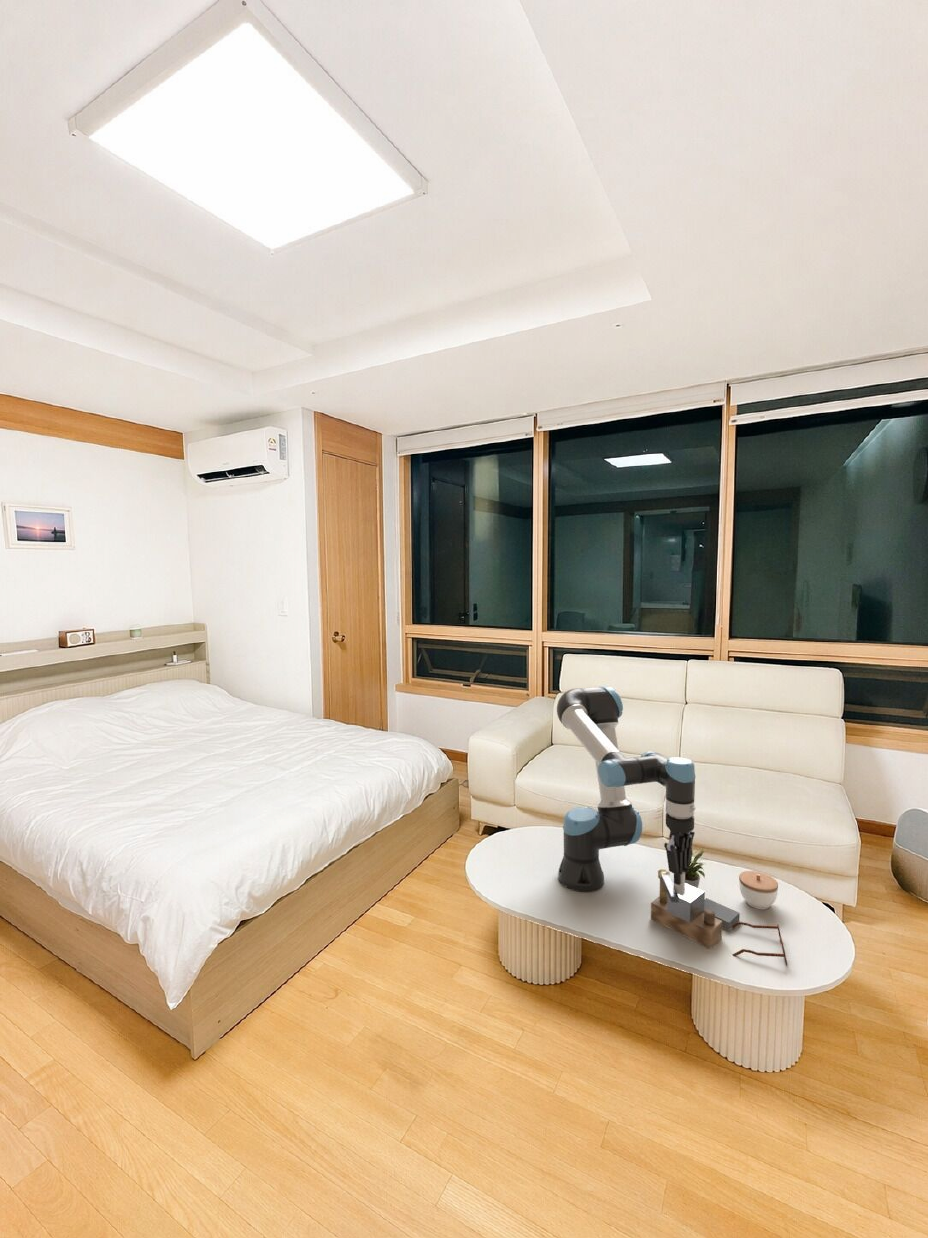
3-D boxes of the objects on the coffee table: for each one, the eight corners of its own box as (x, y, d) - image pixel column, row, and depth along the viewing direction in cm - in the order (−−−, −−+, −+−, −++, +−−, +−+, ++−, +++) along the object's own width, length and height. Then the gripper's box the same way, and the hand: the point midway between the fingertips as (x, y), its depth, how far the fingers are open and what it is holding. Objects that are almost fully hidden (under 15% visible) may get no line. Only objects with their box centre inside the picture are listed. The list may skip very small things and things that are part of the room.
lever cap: (666, 912, 160) (667, 892, 160) (681, 900, 166) (681, 881, 165) (690, 923, 155) (690, 903, 155) (704, 911, 161) (704, 891, 160)
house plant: (656, 899, 175) (657, 849, 174) (663, 877, 188) (664, 831, 186) (705, 911, 169) (707, 860, 167) (709, 888, 181) (710, 840, 180)
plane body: (650, 918, 166) (651, 880, 165) (663, 909, 170) (663, 871, 169) (710, 949, 152) (711, 907, 151) (721, 937, 156) (722, 897, 155)
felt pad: (695, 915, 167) (695, 907, 167) (706, 905, 171) (706, 898, 171) (728, 931, 159) (729, 922, 159) (739, 921, 164) (739, 913, 164)
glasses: (788, 969, 144) (788, 951, 144) (732, 957, 149) (733, 939, 149) (780, 938, 156) (781, 922, 156) (729, 928, 161) (730, 911, 161)
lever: (657, 874, 167) (657, 869, 167) (667, 875, 167) (668, 869, 167) (669, 902, 153) (669, 896, 153) (680, 902, 153) (681, 897, 153)
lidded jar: (772, 918, 165) (773, 888, 164) (733, 904, 172) (734, 875, 171) (781, 902, 173) (782, 874, 172) (744, 889, 180) (745, 862, 179)
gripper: (681, 825, 148) (680, 908, 150) (703, 810, 157) (702, 889, 159) (655, 816, 154) (655, 896, 156) (678, 802, 162) (678, 878, 165)
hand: (679, 893), depth 157 cm, fingers closed
